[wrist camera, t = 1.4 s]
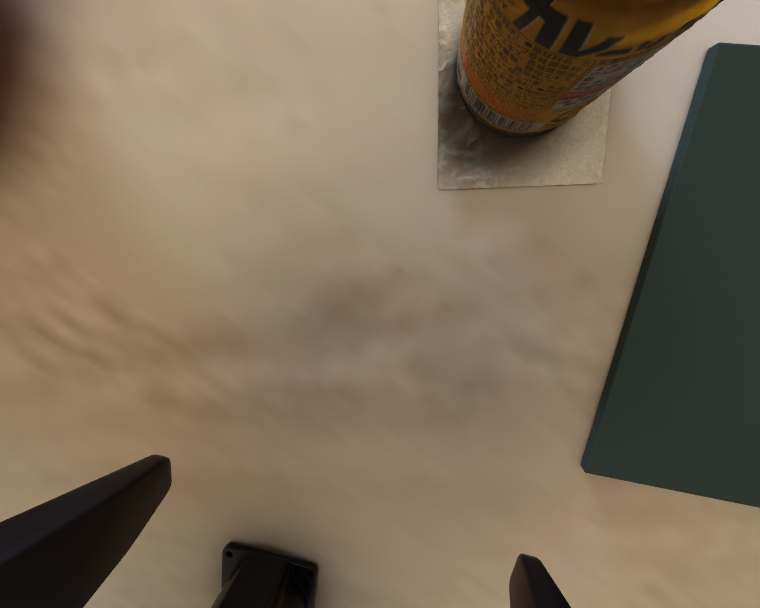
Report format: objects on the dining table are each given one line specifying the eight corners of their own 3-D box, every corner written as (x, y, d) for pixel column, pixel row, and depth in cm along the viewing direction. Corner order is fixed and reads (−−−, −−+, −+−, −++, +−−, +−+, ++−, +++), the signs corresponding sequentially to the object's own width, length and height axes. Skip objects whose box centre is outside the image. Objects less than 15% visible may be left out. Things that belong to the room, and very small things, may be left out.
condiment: (622, -37, 15) (1344, -1028, 3) (599, 183, 16) (991, 95, 5) (439, -14, 16) (451, -679, 4) (437, 190, 18) (443, 131, 6)
